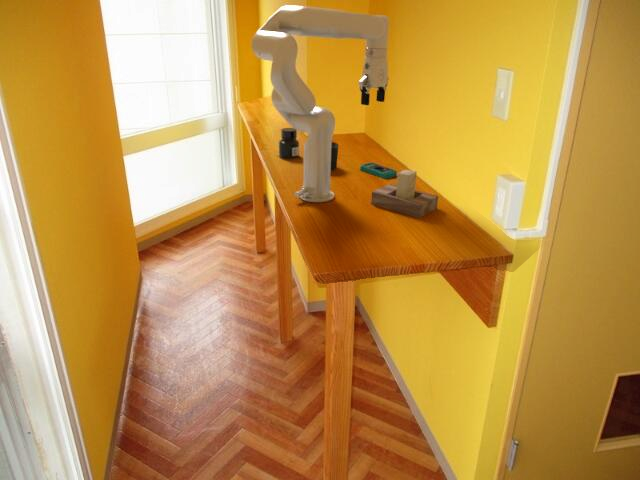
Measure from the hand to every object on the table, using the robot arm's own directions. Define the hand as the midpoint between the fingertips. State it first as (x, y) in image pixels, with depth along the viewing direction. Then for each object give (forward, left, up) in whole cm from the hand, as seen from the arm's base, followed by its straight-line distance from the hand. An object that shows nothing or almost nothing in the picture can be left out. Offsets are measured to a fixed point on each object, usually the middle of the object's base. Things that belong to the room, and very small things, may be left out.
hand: (372, 103), depth 194 cm
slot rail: (-13, -24, -30) cm, 41 cm away
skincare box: (-12, -24, -31) cm, 41 cm away
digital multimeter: (+13, +4, -31) cm, 34 cm away
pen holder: (+4, +24, -31) cm, 39 cm away
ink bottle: (+6, +47, -31) cm, 56 cm away
